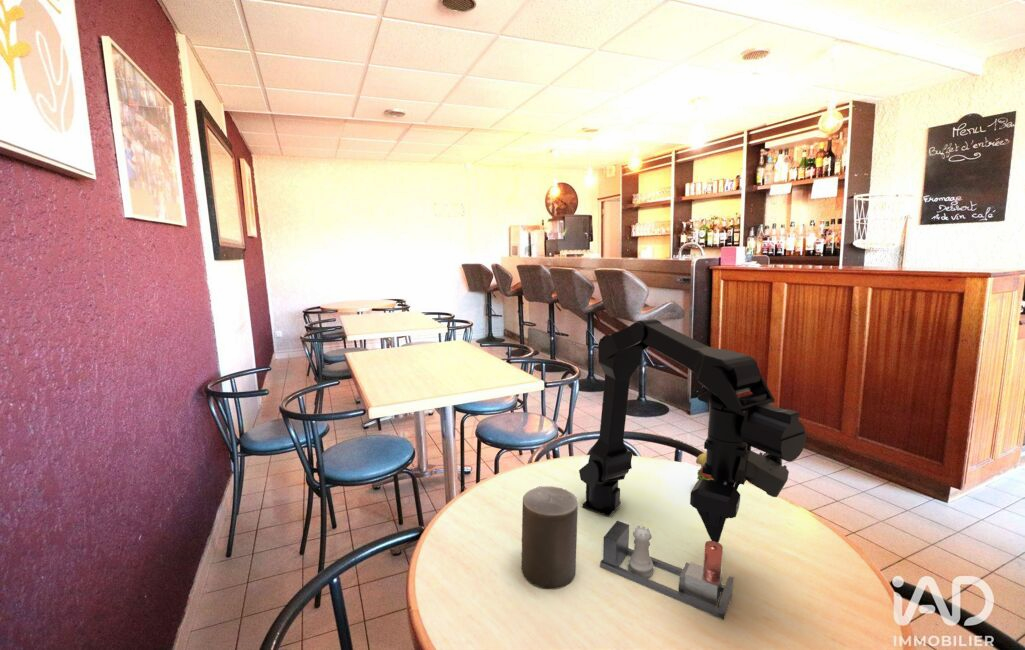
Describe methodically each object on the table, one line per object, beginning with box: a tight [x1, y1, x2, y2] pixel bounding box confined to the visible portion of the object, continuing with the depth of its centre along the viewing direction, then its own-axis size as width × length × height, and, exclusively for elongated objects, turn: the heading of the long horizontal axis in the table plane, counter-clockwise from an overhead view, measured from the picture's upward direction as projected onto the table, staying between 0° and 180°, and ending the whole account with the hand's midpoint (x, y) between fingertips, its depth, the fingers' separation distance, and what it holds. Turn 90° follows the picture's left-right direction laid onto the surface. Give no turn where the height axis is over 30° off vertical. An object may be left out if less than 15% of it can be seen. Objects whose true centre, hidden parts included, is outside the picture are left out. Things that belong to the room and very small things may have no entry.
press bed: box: [599, 520, 735, 621], centre depth 81 cm, size 21×7×6 cm, turn 55°
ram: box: [678, 540, 724, 608], centre depth 77 cm, size 6×4×10 cm
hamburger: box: [695, 452, 714, 483], centre depth 106 cm, size 8×7×12 cm
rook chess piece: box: [627, 525, 655, 579], centre depth 83 cm, size 4×4×8 cm
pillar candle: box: [521, 485, 579, 590], centre depth 83 cm, size 10×10×15 cm
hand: (720, 526), depth 76 cm, fingers open, 9 cm apart
